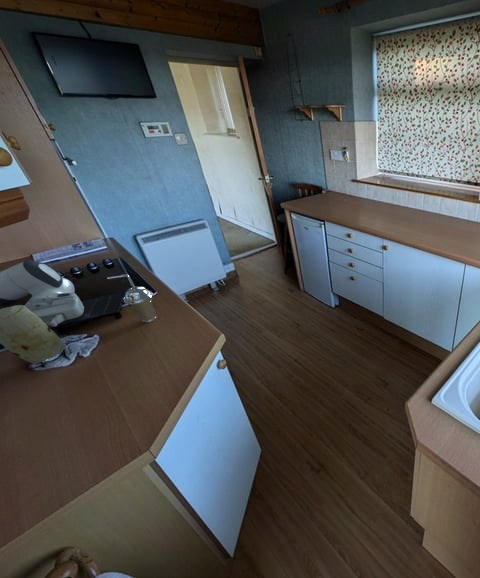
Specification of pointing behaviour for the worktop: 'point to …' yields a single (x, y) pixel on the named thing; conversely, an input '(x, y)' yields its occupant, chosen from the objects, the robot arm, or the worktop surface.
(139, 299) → the cup with straw
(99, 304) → the low black rectangular block
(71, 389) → the worktop surface
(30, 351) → the food model
